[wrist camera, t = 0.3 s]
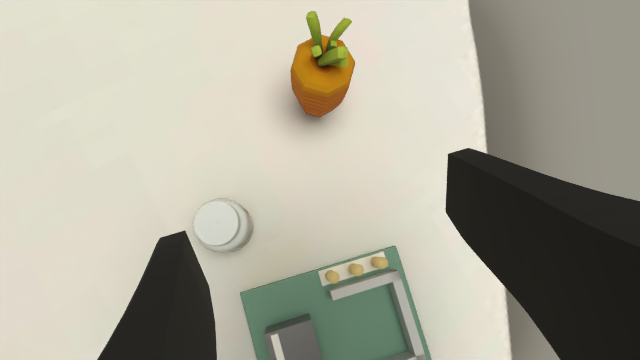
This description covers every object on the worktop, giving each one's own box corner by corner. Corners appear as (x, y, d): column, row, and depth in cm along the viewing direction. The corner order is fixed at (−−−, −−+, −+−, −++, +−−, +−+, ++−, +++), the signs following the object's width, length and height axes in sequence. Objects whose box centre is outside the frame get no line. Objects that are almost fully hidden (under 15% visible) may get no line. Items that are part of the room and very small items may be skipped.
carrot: (287, 88, 42) (285, 2, 27) (336, 83, 43) (360, -4, 28) (293, 136, 42) (295, 74, 27) (343, 130, 42) (372, 66, 27)
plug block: (324, 368, 38) (328, 382, 34) (281, 383, 37) (280, 398, 33) (309, 313, 38) (311, 320, 35) (266, 326, 38) (263, 335, 34)
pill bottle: (248, 200, 40) (239, 189, 33) (257, 246, 40) (249, 245, 32) (202, 209, 40) (181, 200, 32) (210, 255, 39) (190, 257, 32)
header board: (430, 362, 39) (444, 373, 35) (272, 415, 37) (270, 432, 34) (394, 245, 40) (404, 245, 37) (240, 292, 39) (235, 296, 35)
